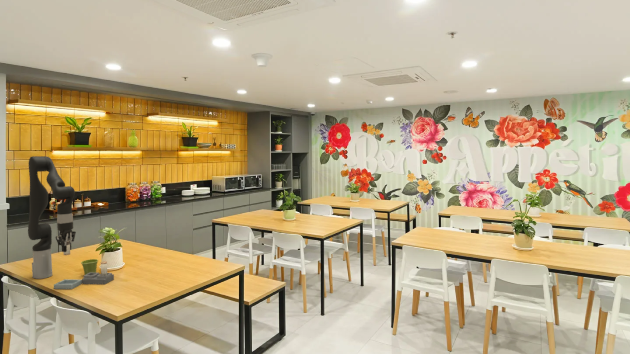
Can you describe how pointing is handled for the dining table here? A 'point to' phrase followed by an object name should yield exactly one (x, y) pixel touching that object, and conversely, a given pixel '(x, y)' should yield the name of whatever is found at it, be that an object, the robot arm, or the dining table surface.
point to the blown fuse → (67, 247)
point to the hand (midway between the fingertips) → (66, 250)
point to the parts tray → (67, 284)
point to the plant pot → (89, 266)
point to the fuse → (104, 268)
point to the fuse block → (97, 278)
